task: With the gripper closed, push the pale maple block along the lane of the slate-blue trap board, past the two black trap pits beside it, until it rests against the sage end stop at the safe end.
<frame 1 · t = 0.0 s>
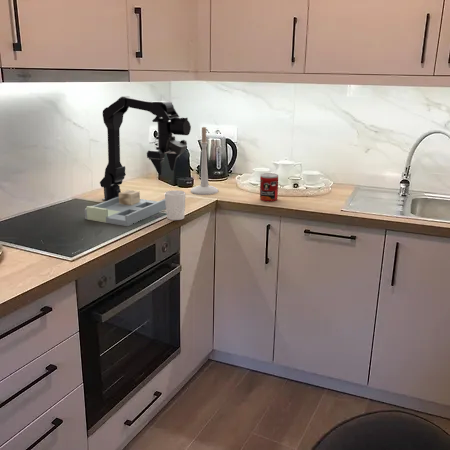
hand: (166, 172, 206), 15 cm above the worktop, fingers open, 9 cm apart
white cup: (175, 218, 197), on the worktop
canned food: (268, 199, 223), on the worktop
candlestick: (204, 191, 237), on the worktop
maple block: (129, 202, 210), point 2 cm above the worktop, touching trap board
trap board: (128, 213, 202), on the worktop
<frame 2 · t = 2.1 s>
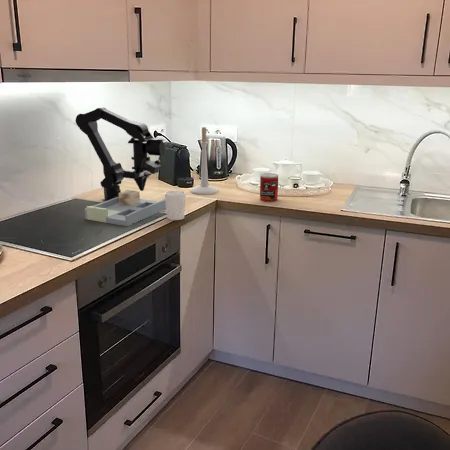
hand: (141, 190, 216), 5 cm above the worktop, fingers closed
nothing on the worktop moved.
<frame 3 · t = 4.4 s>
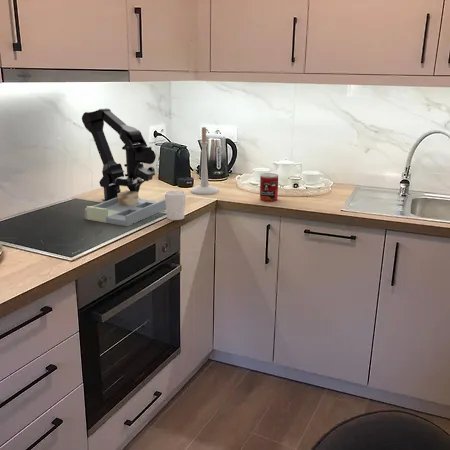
hand: (135, 198, 213), 3 cm above the worktop, fingers closed
maple block: (128, 203, 209), point 2 cm above the worktop, touching gripper, trap board
everything else where it was.
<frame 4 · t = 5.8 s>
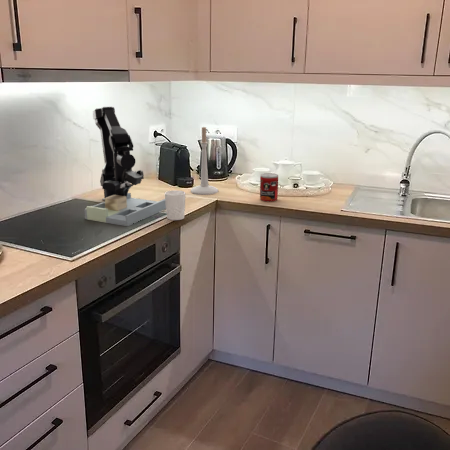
hand: (123, 202, 206), 3 cm above the worktop, fingers closed
maple block: (116, 208, 202), point 2 cm above the worktop, touching gripper
everything else where it was.
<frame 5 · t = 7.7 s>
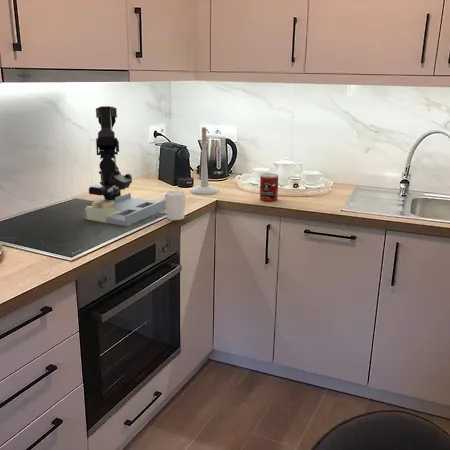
hand: (111, 207, 199), 3 cm above the worktop, fingers closed
maple block: (104, 212, 195), point 2 cm above the worktop, touching gripper, trap board
everything else where it was.
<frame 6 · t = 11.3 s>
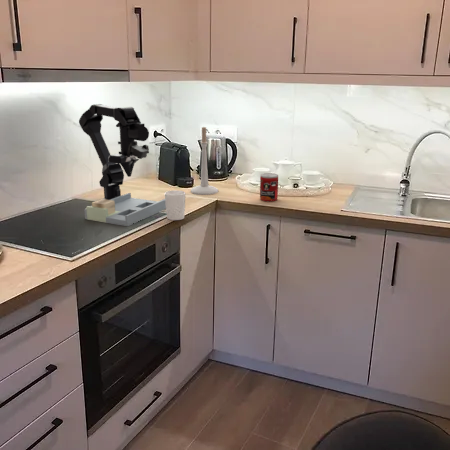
hand: (129, 176, 211), 12 cm above the worktop, fingers closed
maple block: (104, 212, 195), point 2 cm above the worktop, touching trap board
everything else where it was.
at the end: maple block 1.3 cm from the target spot, point 2.0 cm above the worktop; maple block tilted 0°; the gripper is holding nothing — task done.
